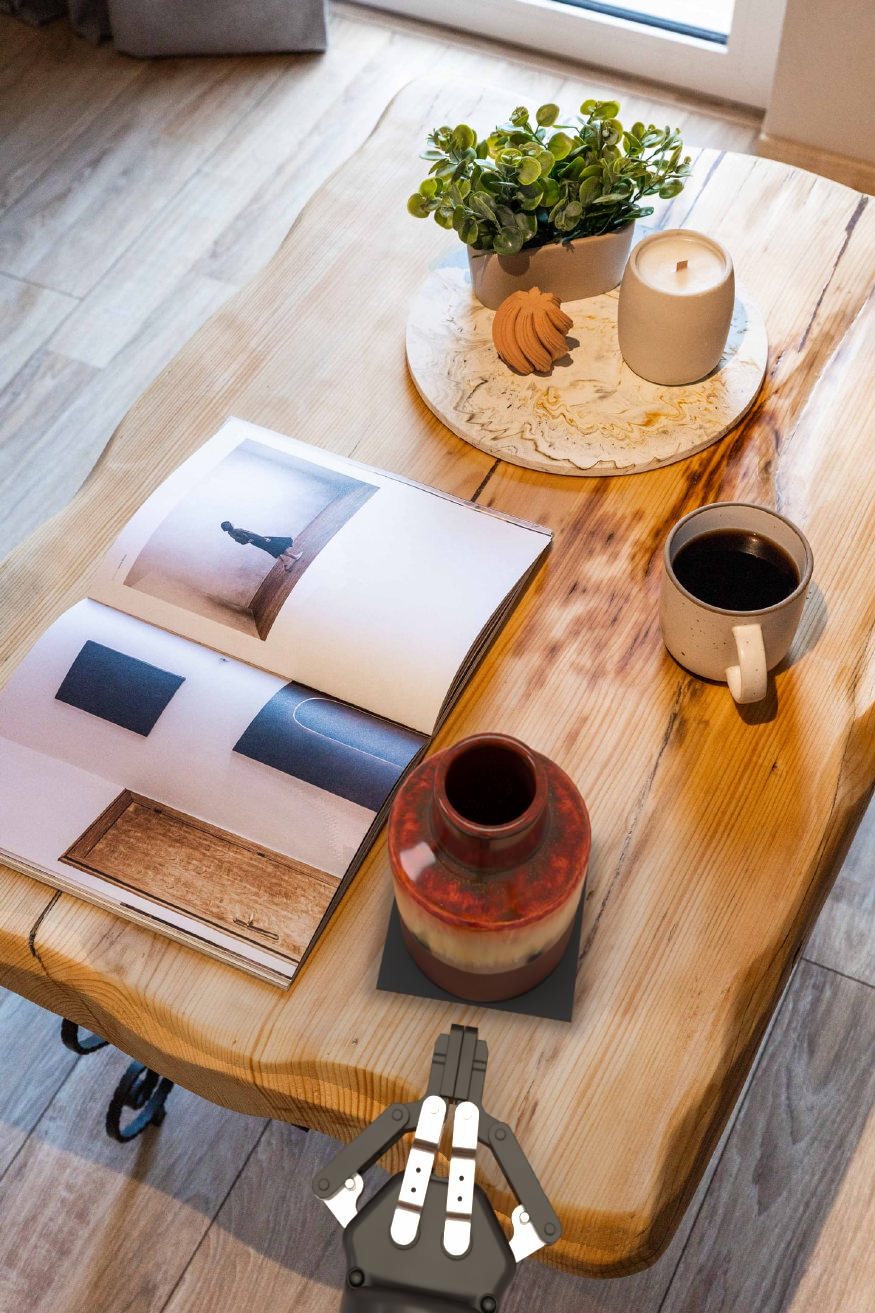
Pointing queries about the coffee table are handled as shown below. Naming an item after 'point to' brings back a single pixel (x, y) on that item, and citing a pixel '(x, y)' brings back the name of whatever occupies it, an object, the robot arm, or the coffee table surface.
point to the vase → (488, 866)
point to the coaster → (541, 1001)
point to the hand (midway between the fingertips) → (464, 1029)
